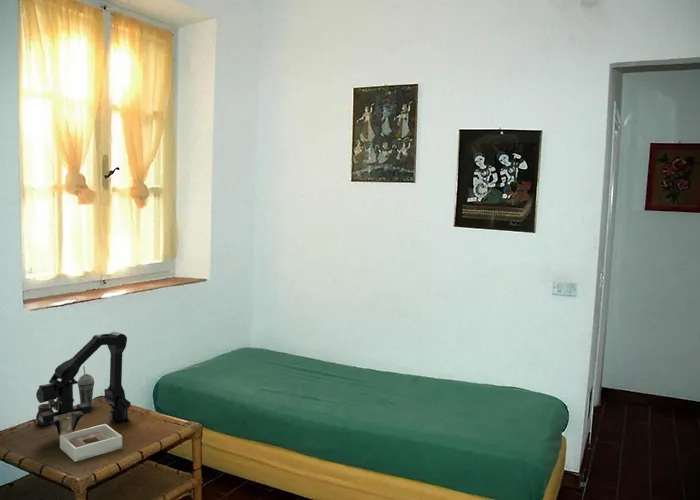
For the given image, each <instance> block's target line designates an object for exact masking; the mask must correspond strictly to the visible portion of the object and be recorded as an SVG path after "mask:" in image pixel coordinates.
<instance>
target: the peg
mask: <svg viewBox="0 0 700 500" xmlns="http://www.w3.org/2000/svg"><path fill="white" fill-rule="evenodd" d="M59 421H60V435H64V434H68V433H72V417H68V416H66V417H61V418H60V419H59ZM60 435H59V436H60Z"/></svg>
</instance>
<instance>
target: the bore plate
mask: <svg viewBox="0 0 700 500" xmlns="http://www.w3.org/2000/svg"><path fill="white" fill-rule="evenodd" d="M106 439H109V438H108V437H106V436H105V435H104V434H102V433H101V432H98V433H94V434H90V435H86V436H83V437H79V438H75V439H71V440H70V443H71V444H73V445H74V446H75V447H76V448H77V447H81V446H84V445H88V443H91V444H92V442H99V441H103V440H106Z"/></svg>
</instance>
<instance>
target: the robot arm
mask: <svg viewBox="0 0 700 500" xmlns="http://www.w3.org/2000/svg"><path fill="white" fill-rule="evenodd" d="M127 342H128V336H127V335H126V334H124V333H120V332H117V331H111V332H110V333H104V334H103V333H102V334H94V335H93V336H92V338H91V339H90V340H89V341H88V342H87V343H86V344H85V345H84V346H83V347H81V349H80V350H79V351H78V352H76V353H75V354H74V356H72V357H71V358H70V359H68V360H65V361H63V362H62V363H61V364H59V365H58V366H57V367H56V368H55V369H54V373H53V374H52V377H50V379H49V381H48V383H46V384H41V385H39V386H38V389H37V390H36V393H35V397H36V399H37V402H38V403H40V404H44V403H47V402H48V407H49V408H52V409H53V410H55V411H56V412H55V411H54V413H51V412H50V411H47V412H43V413H40V414H39V420H40V421H41V422H42V423H44V424H45V423H49V422H51V423H50V424H53V426H54V429H55V431H56V433H57V435H58V436H60V419H59V418H60V417H63V416H68V415H71V433H72V432H75V431H76V427H77V426H78V424H79V421H80V420H81V418H82V417H84V415H86V414H90V413H92V407H91V406H92V405H91V406H89V405H88V404H86V403H83V404H77V405H76V407H74V403H75V399H74V385H76V384H77V385H78V380H76V379H75V377H76V376H77V374H78V373H79V371H80V368H81V367H82V365H83V364H84V363H85V362H86V361H87V360H89V359H90V357H92V355H94V353H96V351H98V350H99V349H100V348H101V346H107V348H108V350H109V354H110V361H109V363H110V364H109V365H110V366H109V386H108V387H107V388H105V389H104V391H103V392H104V395H103V399H105V402H106V403H107V404H108V406H109V407H110V411H109V421H111V422H112V423H113V424H120V423H123V422H128V421H130V418H129V412H128V411H129V408H130V407H131V404H132V402H130V401H129V400H128V399H126V393H125V390H124V387H123V385H122V384H123V383H122V381H123V380H122V379H123V378H122V377H123V375H122V374H123V353H124V351H125V350H126V348H127Z"/></svg>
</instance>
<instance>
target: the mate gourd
mask: <svg viewBox="0 0 700 500" xmlns="http://www.w3.org/2000/svg"><path fill="white" fill-rule="evenodd" d="M37 409H38V411H37V413H36V416H35V420H36V422H37V423H38V424H39V425H40V426H46V425H50V424H52V423H51V422H49V423H45V424H44V423H42V422H41V421H40V420H39V414H40V413H43V412H47V411H50V412H51V413H55V411H54V409H53V408H49V407H48V403H47V402H45V403H40V405H38V407H37Z"/></svg>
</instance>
